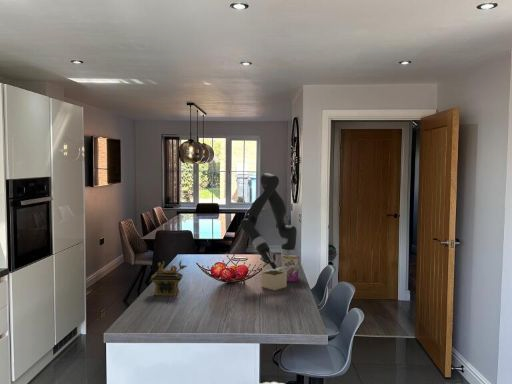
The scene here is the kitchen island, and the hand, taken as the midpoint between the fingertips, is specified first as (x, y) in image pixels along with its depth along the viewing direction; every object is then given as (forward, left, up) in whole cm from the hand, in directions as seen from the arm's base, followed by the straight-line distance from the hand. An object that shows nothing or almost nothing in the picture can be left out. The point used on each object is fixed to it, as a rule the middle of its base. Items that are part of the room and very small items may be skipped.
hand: (275, 268), depth 286 cm
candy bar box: (-19, +8, -12) cm, 24 cm away
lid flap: (-1, -1, -1) cm, 2 cm away
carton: (-1, -1, -12) cm, 12 cm away
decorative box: (+24, -59, -12) cm, 65 cm away
